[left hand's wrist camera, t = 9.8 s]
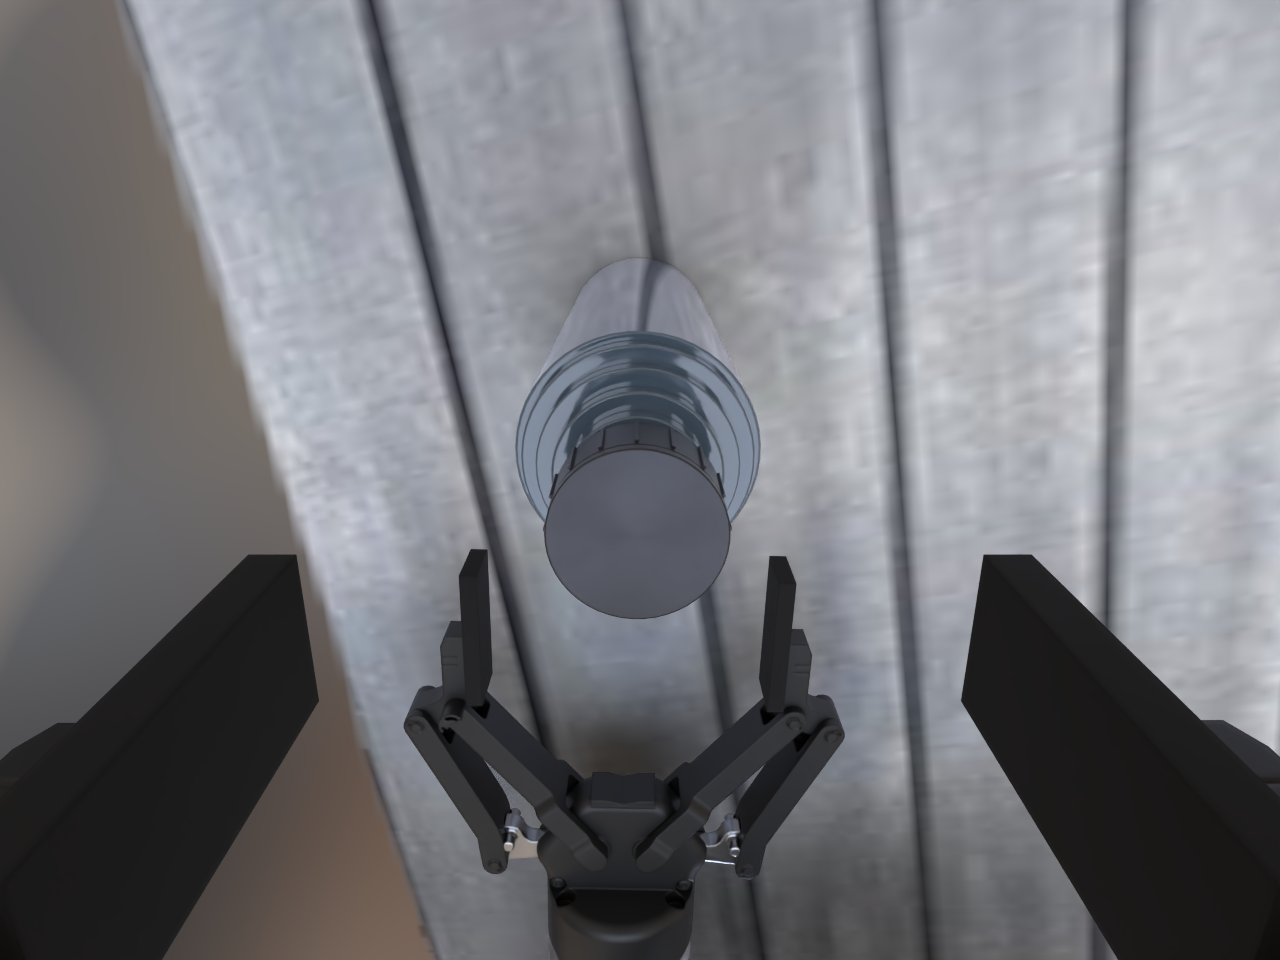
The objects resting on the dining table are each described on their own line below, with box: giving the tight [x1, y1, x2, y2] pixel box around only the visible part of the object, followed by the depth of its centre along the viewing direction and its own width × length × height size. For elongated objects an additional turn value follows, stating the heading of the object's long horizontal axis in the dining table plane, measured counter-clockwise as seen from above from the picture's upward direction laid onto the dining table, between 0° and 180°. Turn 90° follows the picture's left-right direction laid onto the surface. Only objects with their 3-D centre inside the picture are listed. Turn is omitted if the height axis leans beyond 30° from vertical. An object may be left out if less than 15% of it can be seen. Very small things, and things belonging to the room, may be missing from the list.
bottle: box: [515, 258, 761, 523], centre depth 29 cm, size 6×6×24 cm
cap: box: [543, 421, 732, 619], centre depth 18 cm, size 4×4×2 cm
